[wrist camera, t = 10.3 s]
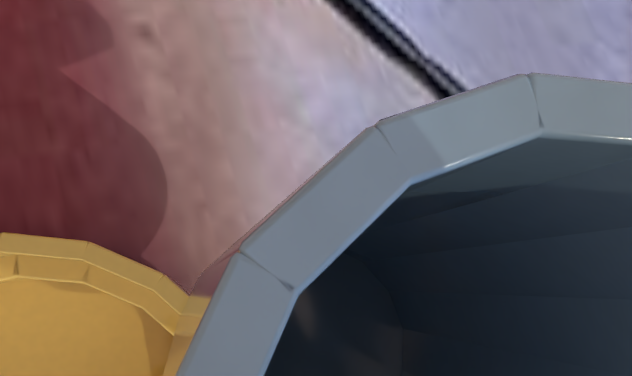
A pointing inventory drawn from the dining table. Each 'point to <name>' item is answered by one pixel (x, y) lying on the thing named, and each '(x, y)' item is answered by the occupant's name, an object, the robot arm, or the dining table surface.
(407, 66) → the dining table surface
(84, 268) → the bowl
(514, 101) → the blue tumbler
